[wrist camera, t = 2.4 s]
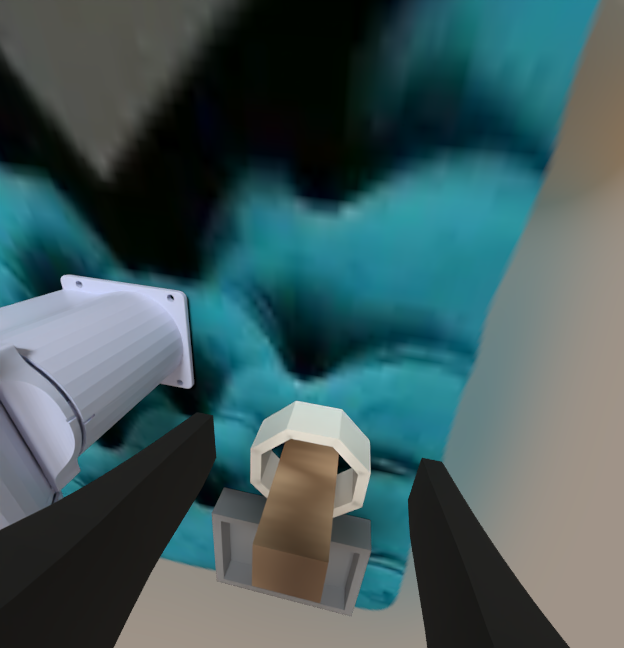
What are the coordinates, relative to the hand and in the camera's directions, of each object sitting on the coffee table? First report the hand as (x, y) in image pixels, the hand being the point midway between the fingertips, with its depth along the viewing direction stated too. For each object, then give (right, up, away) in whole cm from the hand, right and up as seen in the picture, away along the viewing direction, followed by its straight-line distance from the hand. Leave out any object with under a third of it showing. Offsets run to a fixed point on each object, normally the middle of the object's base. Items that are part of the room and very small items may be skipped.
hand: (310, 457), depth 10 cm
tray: (-2, -17, +19) cm, 26 cm away
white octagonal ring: (0, -6, +14) cm, 15 cm away
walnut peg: (0, -6, +14) cm, 15 cm away
